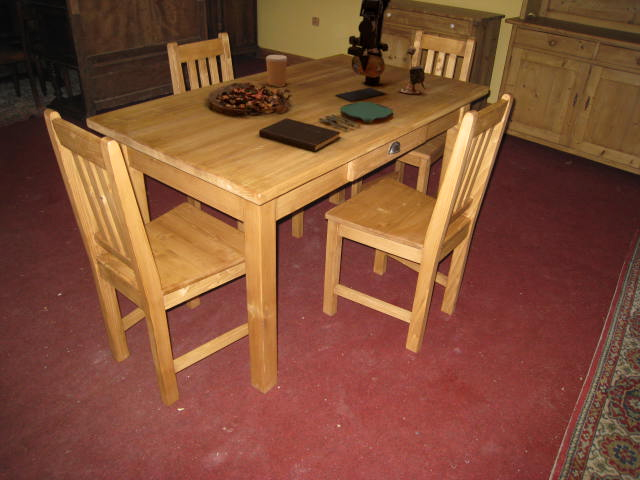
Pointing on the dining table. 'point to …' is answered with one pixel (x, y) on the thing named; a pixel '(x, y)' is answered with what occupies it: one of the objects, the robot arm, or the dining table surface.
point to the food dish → (248, 100)
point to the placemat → (360, 94)
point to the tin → (369, 66)
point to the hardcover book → (300, 134)
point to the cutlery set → (360, 113)
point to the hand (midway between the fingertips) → (366, 70)
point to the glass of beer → (276, 69)
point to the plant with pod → (414, 75)
